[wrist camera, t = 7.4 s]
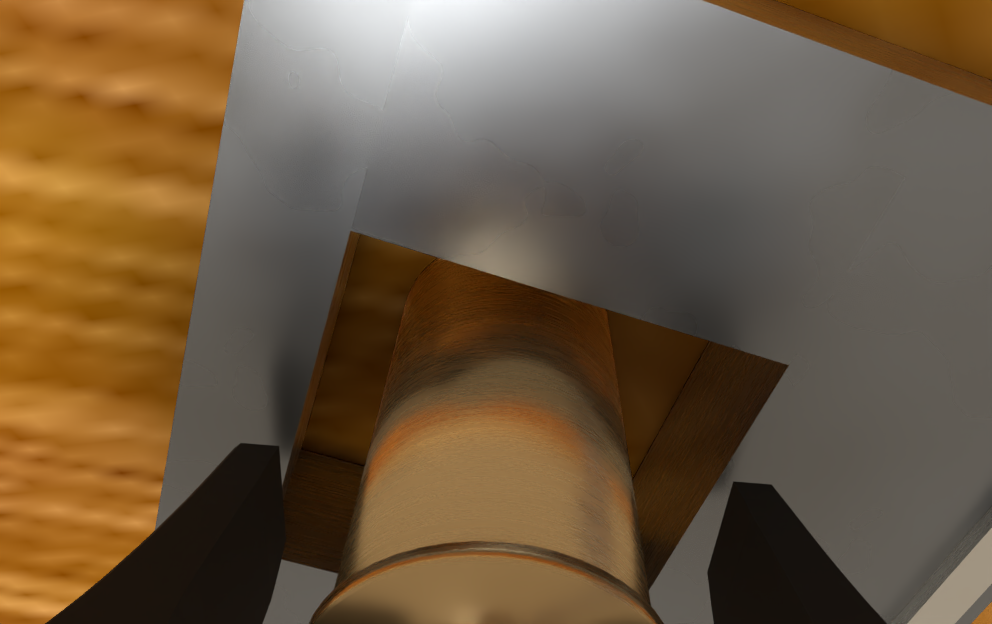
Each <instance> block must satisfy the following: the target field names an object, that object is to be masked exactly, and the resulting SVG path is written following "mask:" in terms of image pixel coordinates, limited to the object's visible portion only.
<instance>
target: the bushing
mask: <svg viewBox="0 0 992 624" xmlns="http://www.w3.org/2000/svg"><path fill="white" fill-rule="evenodd" d="M309 624H664V623H663V621H662V620H661V619H660V617H659V616H658V614H657V613H656V611H655V610H654V609H653V608H652V607H651V602H650V595H649V588H648V582H647V575H646V569H645V562H644V555H643V549H642V542H641V535H640V529H639V522H638V515H637V509H636V502H635V495H634V489H633V482H632V476H631V469H630V462H629V456H628V449H627V442H626V436H625V429H624V422H623V416H622V409H621V402H620V396H619V389H618V382H617V376H616V369H615V363H614V356H613V349H612V343H611V336H610V329H609V323H608V316H607V311H606V309H604V308H601V307H598V306H594V305H591V304H588V303H585V302H581V301H578V300H575V299H571V298H568V297H565V296H562V295H558V294H555V293H552V292H549V291H545V290H542V289H539V288H536V287H532V286H529V285H526V284H523V283H519V282H516V281H513V280H510V279H506V278H503V277H500V276H497V275H493V274H490V273H487V272H484V271H480V270H477V269H474V268H470V267H467V266H464V265H461V264H457V263H454V262H451V261H448V260H444V259H441V258H437V259H435V260H434V261H433V262H432V263H431V264H430V265H429V266H428V267H426V268H425V270H424V271H423V272H422V273H421V274H420V276H419V277H418V278H417V280H416V281H415V283H414V284H413V286H412V288H411V290H410V292H409V295H408V297H407V299H406V303H405V307H404V311H403V315H402V319H401V323H400V327H399V331H398V335H397V339H396V343H395V347H394V351H393V355H392V359H391V363H390V367H389V371H388V375H387V379H386V383H385V387H384V391H383V395H382V399H381V403H380V407H379V411H378V415H377V419H376V423H375V427H374V431H373V435H372V439H371V443H370V447H369V451H368V455H367V459H366V463H365V467H364V471H363V475H362V479H361V483H360V487H359V491H358V495H357V499H356V503H355V507H354V511H353V515H352V519H351V523H350V527H349V531H348V535H347V539H346V543H345V547H344V551H343V555H342V559H341V563H340V567H339V571H338V575H337V579H336V583H335V587H334V590H333V591H332V592H331V593H330V594H329V595H328V596H327V597H326V598H325V599H324V600H323V601H322V603H321V604H320V605H319V607H318V608H317V610H316V611H315V612H314V614H313V615H312V618H311V620H310V622H309Z"/></svg>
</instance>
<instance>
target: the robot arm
mask: <svg viewBox="0 0 992 624" xmlns="http://www.w3.org/2000/svg"><path fill="white" fill-rule="evenodd" d="M285 542H286V530H285V517H284V504H283V491H282V477H281V464H280V451H279V446H274V445H261V444H249V443H240V444H239V445H237V446H236V447H235V448H234V449H233V450H232V451H231V452H230V453H229V454H228V455H227V456H226V457H225V459H224V460H223V461H222V462H221V463H220V464H219V465H218V466H217V467H216V468H215V469H214V471H213V472H212V473H211V474H210V475H209V476H208V477H207V478H206V479H205V480H204V481H203V482H202V483H201V484H200V486H199V487H198V488H197V489H196V490H195V491H194V492H193V493H192V494H191V495H190V496H189V497H188V498H187V499H186V500H185V501H184V502H183V503H182V504H181V505H180V506H179V507H178V508H177V509H176V510H175V511H174V512H173V513H172V514H171V515H170V516H169V517H168V518H167V519H166V520H165V521H164V522H163V523H162V524H161V525H160V526H159V527H158V528H157V529H156V530H155V531H154V532H153V533H152V534H151V535H150V536H149V537H148V538H147V539H146V540H144V541H143V542H142V543H141V544H140V545H139V546H138V547H137V548H136V549H135V550H133V551H132V552H131V553H130V554H129V555H128V556H127V557H126V558H125V559H123V560H122V561H121V562H120V563H119V564H118V565H117V566H116V567H114V568H113V569H112V570H111V571H110V572H109V573H108V574H107V575H106V576H104V577H103V578H102V579H101V580H100V581H98V582H97V583H96V584H95V585H94V586H92V587H91V588H90V589H89V590H88V591H86V592H85V593H84V594H83V595H82V596H80V597H79V598H78V599H77V600H75V601H74V602H73V603H72V604H70V605H69V606H68V607H66V608H65V609H64V610H62V611H61V612H60V613H59V614H57V615H56V616H55V617H53V618H52V619H51V620H49V621H48V622H47V623H45V624H263V621H264V618H265V616H266V613H267V610H268V608H269V605H270V602H271V599H272V595H273V591H274V588H275V584H276V580H277V576H278V572H279V568H280V563H281V559H282V555H283V551H284V547H285ZM707 574H708V582H709V591H710V599H711V607H712V614H713V621H714V624H887V623H886V622H885V621H884V620H883V619H882V617H881V616H880V615H879V614H878V613H877V612H876V611H875V610H874V609H873V608H872V607H871V605H870V604H869V603H868V602H867V601H866V600H865V599H864V598H863V596H862V595H861V594H860V593H859V592H858V591H857V589H856V588H855V587H854V586H853V585H852V583H851V582H850V581H849V580H848V579H847V578H846V576H845V575H844V574H843V573H842V572H841V571H840V569H839V568H838V567H837V566H836V565H835V563H834V562H833V561H832V560H831V558H830V557H829V556H828V555H827V554H826V552H825V551H824V550H823V549H822V547H821V546H820V545H819V544H818V542H817V541H816V540H815V539H814V537H813V536H812V535H811V534H810V532H809V531H808V530H807V529H806V527H805V526H804V525H803V523H802V522H801V521H800V520H799V518H798V517H797V516H796V515H795V513H794V512H793V511H792V509H791V508H790V507H789V506H788V504H787V503H786V502H785V501H784V499H783V498H782V497H781V496H780V494H779V493H778V492H777V491H776V489H775V488H774V487H773V486H772V484H760V483H747V482H734V481H733V484H732V487H731V491H730V494H729V498H728V501H727V505H726V508H725V512H724V515H723V519H722V522H721V526H720V529H719V533H718V536H717V540H716V543H715V547H714V550H713V554H712V557H711V561H710V564H709V568H708V571H707Z"/></svg>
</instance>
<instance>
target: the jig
mask: <svg viewBox="0 0 992 624" xmlns="http://www.w3.org/2000/svg"><path fill="white" fill-rule="evenodd" d="M360 234H363V235H366V236H369V237H373V238H376V239H379V240H383V241H386V242H389V243H392V244H396V245H399V246H402V247H405V248H409V249H412V250H415V251H418V252H422V253H425V254H428V255H431V256H435V257H438V258H441V259H444V260H448V261H451V262H454V263H457V264H461V265H464V266H467V267H470V268H474V269H477V270H480V271H484V272H487V273H490V274H493V275H497V276H500V277H503V278H506V279H510V280H513V281H516V282H519V283H523V284H526V285H529V286H532V287H536V288H539V289H542V290H545V291H549V292H552V293H555V294H558V295H562V296H565V297H568V298H571V299H575V300H578V301H581V302H585V303H588V304H591V305H594V306H598V307H601V308H604V309H607V310H611V311H614V312H617V313H620V314H624V315H627V316H630V317H633V318H637V319H640V320H643V321H646V322H650V323H653V324H656V325H659V326H663V327H666V328H669V329H672V330H676V331H679V332H682V333H686V334H689V335H692V336H695V337H699V338H702V339H705V340H708V341H709V343H708V345H707V346H706V348H705V350H704V352H703V354H702V356H701V357H700V359H699V361H698V363H697V365H696V366H695V368H694V370H693V372H692V374H691V375H690V377H689V379H688V381H687V383H686V384H685V386H684V388H683V390H682V392H681V394H680V395H679V397H678V399H677V401H676V403H675V404H674V406H673V408H672V410H671V412H670V413H669V415H668V417H667V419H666V421H665V423H664V424H663V426H662V428H661V430H660V432H659V433H658V435H657V437H656V439H655V441H654V442H653V444H652V446H651V448H650V450H649V451H648V453H647V455H646V457H645V459H644V461H643V462H642V464H641V466H640V468H639V470H638V471H637V473H636V475H635V477H634V479H633V480H632V482H633V489H634V495H635V502H636V509H637V515H638V522H639V529H640V535H641V542H642V549H643V555H644V562H645V569H646V575H647V582H648V588H649V595H650V602H651V607H652V608H653V609H654V610H655V611H656V613H657V614H658V616H659V617H660V619H661V620H662V621H663V623H664V624H714V621H713V614H712V607H711V599H710V591H709V582H708V574H707V571H708V568H709V564H710V561H711V557H712V554H713V550H714V547H715V543H716V540H717V536H718V533H719V529H720V526H721V522H722V519H723V515H724V512H725V508H726V505H727V501H728V498H729V494H730V491H731V487H732V484H733V481H734V482H747V483H760V484H772V486H773V487H774V488H775V489H776V491H777V492H778V493H779V494H780V496H781V497H782V498H783V499H784V501H785V502H786V503H787V504H788V506H789V507H790V508H791V509H792V511H793V512H794V513H795V515H796V516H797V517H798V518H799V520H800V521H801V522H802V523H803V525H804V526H805V527H806V529H807V530H808V531H809V532H810V534H811V535H812V536H813V537H814V539H815V540H816V541H817V542H818V544H819V545H820V546H821V547H822V549H823V550H824V551H825V552H826V554H827V555H828V556H829V557H830V558H831V560H832V561H833V562H834V563H835V565H836V566H837V567H838V568H839V569H840V571H841V572H842V573H843V574H844V575H845V576H846V578H847V579H848V580H849V581H850V582H851V583H852V585H853V586H854V587H855V588H856V589H857V591H858V592H859V593H860V594H861V595H862V596H863V598H864V599H865V600H866V601H867V602H868V603H869V604H870V605H871V607H872V608H873V609H874V610H875V611H876V612H877V613H878V614H879V615H880V616H881V617H882V619H883V620H884V621H885V622H886V623H887V624H971V623H972V622H973V621H974V620H975V619H976V618H977V617H978V615H979V614H980V613H981V612H982V611H983V610H984V609H985V608H986V607H987V606H988V605H989V604H990V603H991V602H992V80H989V79H986V78H983V77H981V76H978V75H975V74H973V73H970V72H967V71H964V70H962V69H959V68H956V67H954V66H951V65H948V64H946V63H943V62H940V61H937V60H935V59H932V58H929V57H927V56H924V55H921V54H918V53H916V52H913V51H910V50H908V49H905V48H902V47H899V46H897V45H894V44H891V43H889V42H886V41H883V40H881V39H878V38H875V37H872V36H870V35H867V34H864V33H862V32H859V31H856V30H853V29H851V28H848V27H845V26H843V25H840V24H837V23H835V22H832V21H829V20H826V19H824V18H821V17H818V16H816V15H813V14H810V13H807V12H805V11H802V10H799V9H797V8H794V7H791V6H788V5H786V4H783V3H780V2H778V1H775V0H244V4H243V10H242V16H241V22H240V28H239V34H238V40H237V46H236V52H235V58H234V64H233V70H232V76H231V82H230V88H229V93H228V99H227V105H226V111H225V117H224V123H223V129H222V135H221V141H220V147H219V153H218V159H217V165H216V171H215V177H214V183H213V189H212V194H211V200H210V206H209V212H208V218H207V224H206V230H205V236H204V242H203V248H202V254H201V260H200V266H199V272H198V278H197V284H196V289H195V295H194V301H193V307H192V313H191V319H190V325H189V331H188V337H187V343H186V349H185V355H184V361H183V367H182V373H181V379H180V384H179V390H178V396H177V402H176V408H175V414H174V420H173V426H172V432H171V438H170V444H169V450H168V456H167V462H166V468H165V474H164V479H163V485H162V491H161V497H160V503H159V509H158V515H157V521H156V527H155V530H156V529H157V528H158V527H159V526H160V525H161V524H162V523H163V522H164V521H165V520H166V519H167V518H168V517H169V516H170V515H171V514H172V513H173V512H174V511H175V510H176V509H177V508H178V507H179V506H180V505H181V504H182V503H183V502H184V501H185V500H186V499H187V498H188V497H189V496H190V495H191V494H192V493H193V492H194V491H195V490H196V489H197V488H198V487H199V486H200V484H201V483H202V482H203V481H204V480H205V479H206V478H207V477H208V476H209V475H210V474H211V473H212V472H213V471H214V469H215V468H216V467H217V466H218V465H219V464H220V463H221V462H222V461H223V460H224V459H225V457H226V456H227V455H228V454H229V453H230V452H231V451H232V450H233V449H234V448H235V447H236V446H237V445H239V444H240V443H249V444H261V445H274V446H279V451H280V464H281V477H282V491H283V504H284V517H285V530H286V542H285V547H284V551H283V555H282V559H281V563H280V568H279V572H278V576H277V580H276V584H275V588H274V591H273V595H272V599H271V602H270V605H269V608H268V610H267V613H266V616H265V618H264V621H263V624H309V622H310V620H311V618H312V615H313V614H314V612H315V611H316V610H317V608H318V607H319V605H320V604H321V603H322V601H323V600H324V599H325V598H326V597H327V596H328V595H329V594H330V593H331V592H332V591H333V590H334V587H335V583H336V579H337V575H338V571H339V567H340V563H341V559H342V555H343V551H344V547H345V543H346V539H347V535H348V531H349V527H350V523H351V519H352V515H353V511H354V507H355V503H356V499H357V495H358V491H359V487H360V483H361V479H362V475H363V471H364V467H365V466H361V465H357V464H354V463H350V462H346V461H342V460H339V459H335V458H331V457H328V456H324V455H320V454H316V453H313V452H309V451H305V450H302V449H301V448H302V444H303V440H304V437H305V433H306V430H307V426H308V422H309V419H310V415H311V411H312V408H313V404H314V400H315V397H316V393H317V389H318V386H319V382H320V378H321V375H322V371H323V368H324V364H325V360H326V357H327V353H328V349H329V346H330V342H331V338H332V335H333V331H334V327H335V324H336V320H337V316H338V313H339V309H340V306H341V302H342V298H343V295H344V291H345V287H346V284H347V280H348V276H349V273H350V269H351V265H352V262H353V258H354V254H355V251H356V247H357V244H358V240H359V236H360Z"/></svg>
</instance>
